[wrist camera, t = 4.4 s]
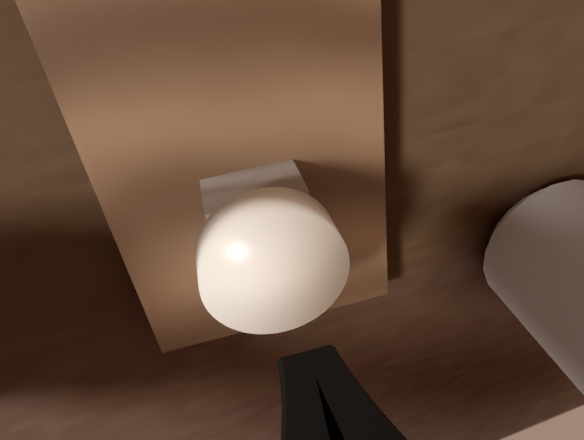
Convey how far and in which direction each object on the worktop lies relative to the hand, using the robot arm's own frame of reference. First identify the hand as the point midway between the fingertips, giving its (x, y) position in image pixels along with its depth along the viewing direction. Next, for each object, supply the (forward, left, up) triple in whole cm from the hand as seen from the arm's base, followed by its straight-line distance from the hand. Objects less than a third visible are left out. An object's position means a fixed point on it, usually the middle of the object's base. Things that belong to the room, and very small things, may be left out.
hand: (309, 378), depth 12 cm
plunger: (0, 0, -9) cm, 9 cm away
